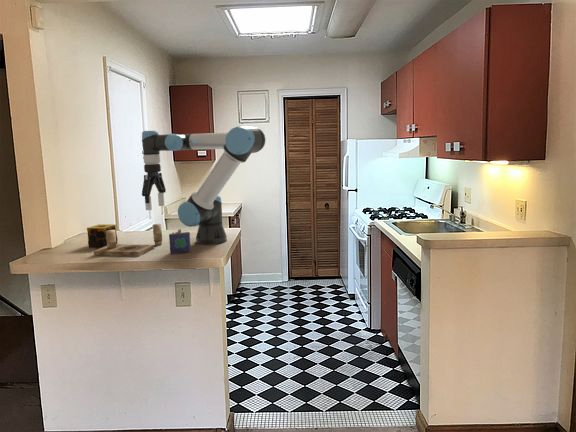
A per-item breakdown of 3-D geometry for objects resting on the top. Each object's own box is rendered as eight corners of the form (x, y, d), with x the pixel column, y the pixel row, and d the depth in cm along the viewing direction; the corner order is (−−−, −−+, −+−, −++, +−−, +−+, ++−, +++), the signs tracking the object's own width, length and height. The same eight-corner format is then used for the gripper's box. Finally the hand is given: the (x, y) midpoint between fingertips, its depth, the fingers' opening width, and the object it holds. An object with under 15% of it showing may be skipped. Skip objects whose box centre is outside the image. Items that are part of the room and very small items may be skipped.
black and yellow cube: (106, 248, 224) (104, 228, 222) (87, 248, 226) (85, 227, 224) (118, 243, 234) (116, 224, 232) (100, 243, 236) (98, 224, 234)
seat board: (153, 248, 220) (152, 228, 218) (139, 256, 206) (137, 234, 204) (110, 248, 224) (108, 227, 222) (93, 255, 210) (91, 233, 208)
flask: (190, 250, 214) (188, 227, 212) (191, 252, 211) (190, 228, 210) (169, 253, 210) (168, 229, 209) (171, 254, 208) (169, 230, 206)
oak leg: (164, 243, 230) (162, 223, 229) (160, 245, 226) (158, 225, 225) (156, 243, 231) (154, 223, 229) (152, 245, 227) (150, 225, 225)
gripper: (156, 162, 235) (159, 204, 239) (131, 165, 211) (135, 211, 214) (170, 162, 234) (173, 204, 237) (147, 165, 210) (150, 211, 213)
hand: (155, 208), depth 226 cm, fingers open, 13 cm apart
